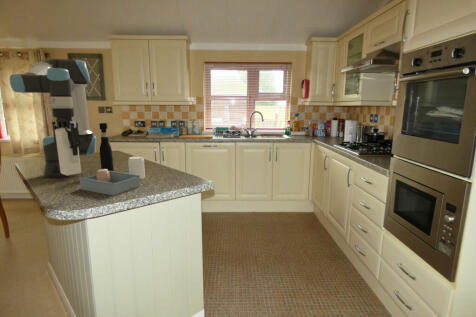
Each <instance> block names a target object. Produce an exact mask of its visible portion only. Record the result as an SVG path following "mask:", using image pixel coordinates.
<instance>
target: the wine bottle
mask: <svg viewBox="0 0 476 317" xmlns="http://www.w3.org/2000/svg"><path fill="white" fill-rule="evenodd" d="M98 127H99V130H100V133H101V134H100V145H99V158H100V169H108V171H114V172H115V170H114V169H115V168H114V159H113V150H112V147H111V144H110V140H109V136H108V133H107V130H108V122H101V123H99V126H98Z"/></svg>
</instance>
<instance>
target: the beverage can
mask: <svg viewBox="0 0 476 317" xmlns="http://www.w3.org/2000/svg"><path fill="white" fill-rule="evenodd" d="M127 165H128V174H135V175H140V177H139V178H140V180H143V179H145V178H146V173H145V172H146V170H145V159H144V157H143V156H141V155H137V156H130V157H128V160H127Z"/></svg>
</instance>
